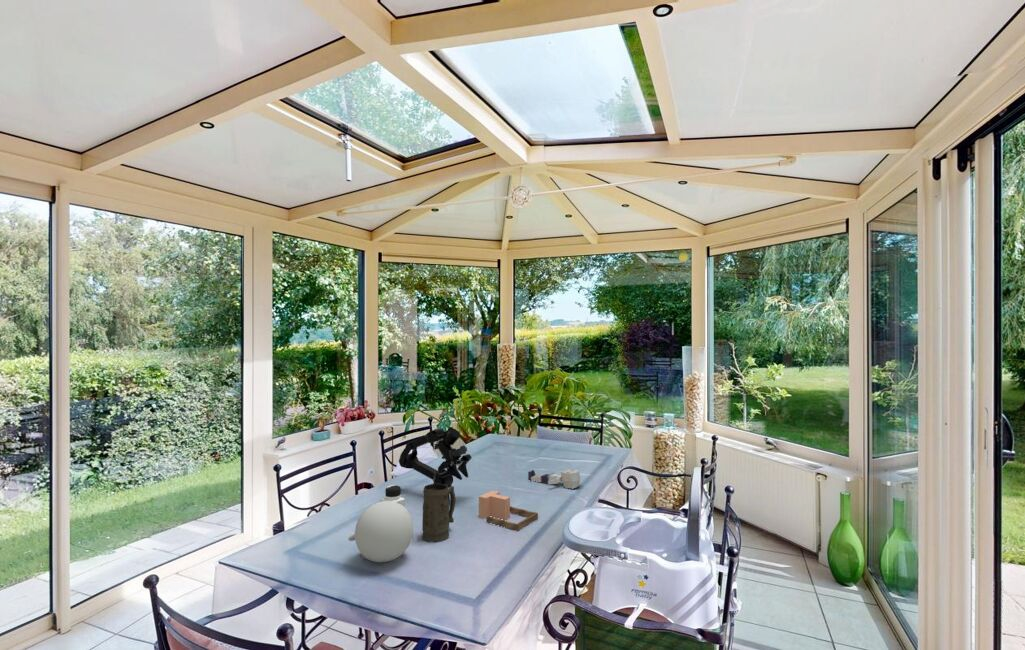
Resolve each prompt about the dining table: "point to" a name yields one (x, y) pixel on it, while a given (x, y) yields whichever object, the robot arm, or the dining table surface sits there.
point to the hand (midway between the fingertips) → (464, 478)
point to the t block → (494, 505)
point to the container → (394, 495)
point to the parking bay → (531, 518)
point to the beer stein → (437, 511)
